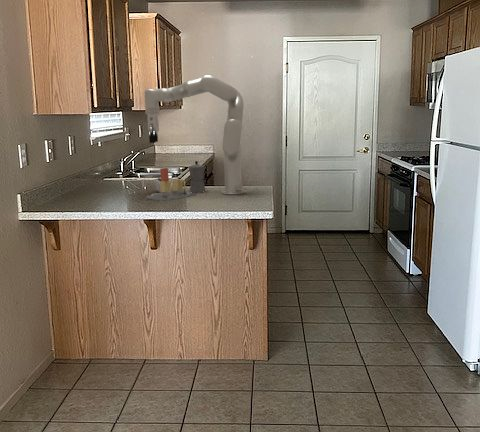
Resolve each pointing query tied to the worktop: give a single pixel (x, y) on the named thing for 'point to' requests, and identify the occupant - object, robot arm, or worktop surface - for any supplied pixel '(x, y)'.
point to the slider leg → (165, 181)
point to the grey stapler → (158, 184)
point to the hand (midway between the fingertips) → (153, 142)
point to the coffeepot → (197, 178)
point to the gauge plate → (178, 195)
